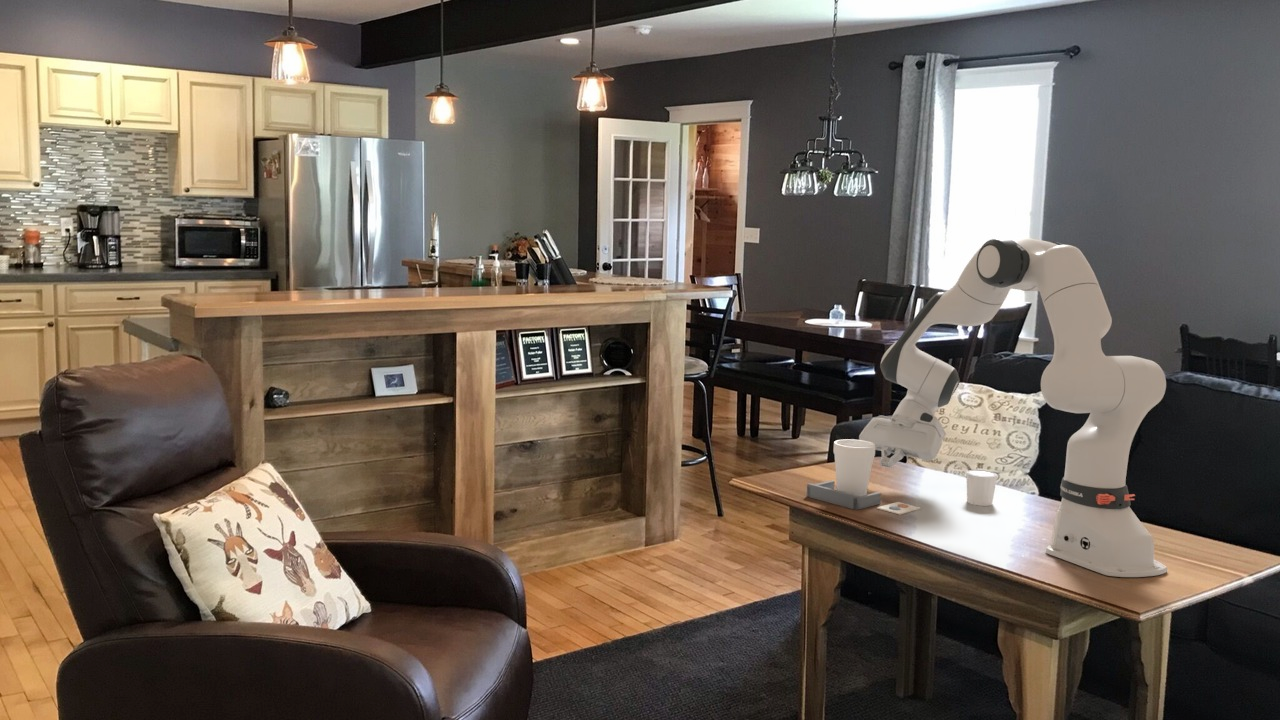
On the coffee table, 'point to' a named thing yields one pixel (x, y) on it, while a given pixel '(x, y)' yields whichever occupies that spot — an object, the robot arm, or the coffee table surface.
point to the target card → (898, 508)
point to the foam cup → (853, 465)
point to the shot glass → (980, 487)
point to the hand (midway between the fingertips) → (885, 465)
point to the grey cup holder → (841, 496)
